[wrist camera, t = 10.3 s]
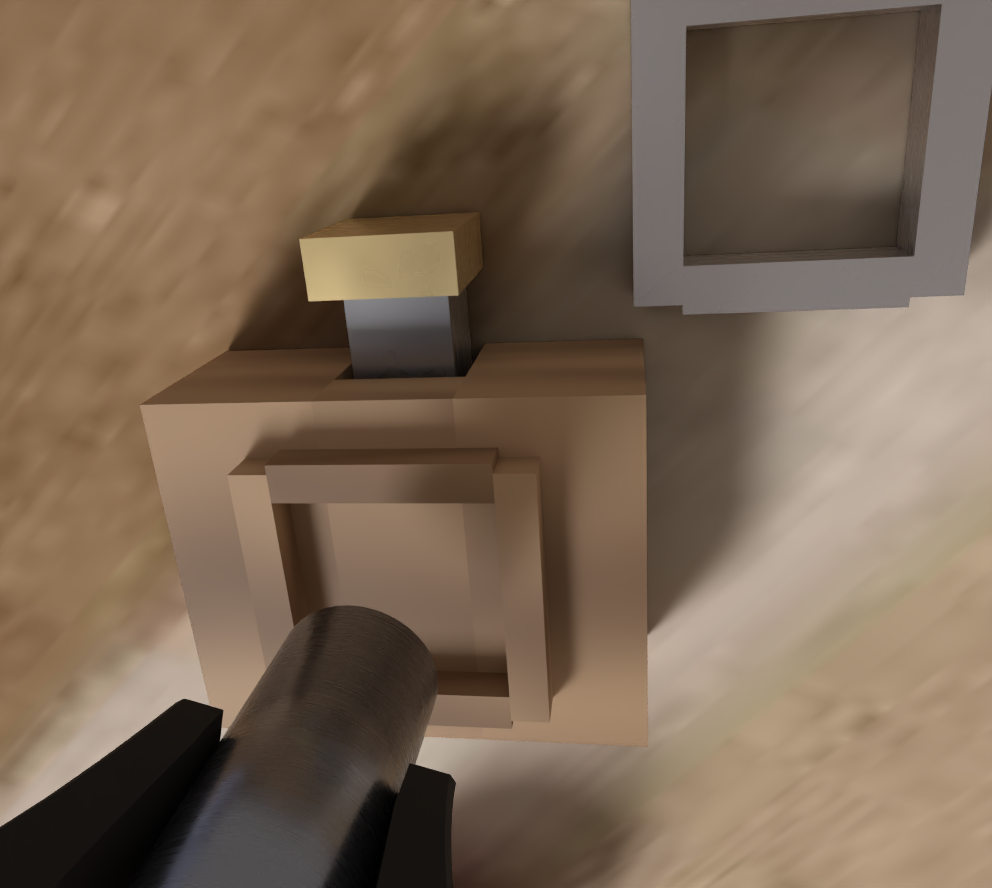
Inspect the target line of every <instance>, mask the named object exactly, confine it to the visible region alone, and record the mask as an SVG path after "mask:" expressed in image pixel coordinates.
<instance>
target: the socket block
mask: <svg viewBox="0 0 992 888" xmlns="http://www.w3.org/2000/svg"><path fill="white" fill-rule="evenodd" d="M140 408H141V412H142V416H143V421H144V425H145V429H146V433H147V438H148V442H149V446H150V451H151V455H152V459H153V463H154V468H155V472H156V476H157V481H158V485H159V489H160V493H161V498H162V502H163V506H164V511H165V515H166V519H167V523H168V528H169V532H170V536H171V540H172V545H173V549H174V553H175V558H176V562H177V566H178V570H179V575H180V579H181V583H182V588H183V592H184V596H185V600H186V605H187V609H188V613H189V618H190V622H191V626H192V630H193V635H194V639H195V643H196V647H197V652H198V656H199V660H200V665H201V669H202V673H203V677H204V682H205V686H206V690H207V695H208V699H209V703H210V706H212V707H216V708H219V709H223V710H224V711H223V719H222V727H224V728H229V727H230V725H231V724H232V722H233V721H234V719H235V718H236V716H237V714H238V713H239V711H240V710H241V708H242V707H243V705H244V703H245V702H246V700H247V699H248V697H249V696H250V694H251V692H252V691H253V689H254V688H255V686H256V685H257V683H258V682H259V680H260V678H261V677H262V675H263V674H264V672H265V671H266V669H267V667H268V666H269V664H270V663H271V661H272V660H273V658H274V657H275V655H276V653H277V652H278V650H279V649H280V647H281V646H282V644H283V642H284V641H285V639H286V638H287V636H288V635H289V633H290V632H291V630H292V629H293V628H294V627H295V625H296V624H298V623H299V622H300V621H301V620H302V619H303V618H305V617H306V616H308V615H309V614H311V613H314V612H316V611H318V610H321V609H324V608H327V607H333V606H344V605H351V606H361V607H366V608H371V609H374V610H377V611H380V612H383V613H385V614H387V615H390V616H391V617H393V618H395V619H397V620H399V621H400V622H402V623H403V624H404V625H406V626H407V627H408V628H410V629H411V630H412V631H413V632H414V633H415V634H416V635H417V636H418V637H419V638H420V639H421V641H422V642H423V643H424V644H425V646H426V647H427V649H428V650H429V652H430V654H431V656H432V658H433V660H434V663H435V666H436V669H437V675H438V694H437V698H436V701H435V704H434V708H433V711H432V714H431V717H430V720H429V723H428V726H427V729H426V732H425V735H424V737H446V738H468V739H490V740H513V741H535V742H557V743H579V744H602V745H624V746H646V747H648V695H647V434H646V382H645V366H644V350H643V339H616V340H582V341H548V342H515V343H485V345H484V346H483V348H482V350H481V351H480V353H479V355H478V356H477V358H476V360H475V362H474V363H473V365H472V367H471V368H470V370H469V372H468V373H467V375H466V377H432V378H390V379H354V374H353V367H352V359H351V352H350V347H347V348H313V349H280V350H246V351H226V352H224V353H223V354H221V355H219V356H218V357H216V358H215V359H213V360H211V361H210V362H208V363H206V364H205V365H203V366H202V367H200V368H198V369H197V370H195V371H194V372H192V373H190V374H189V375H187V376H186V377H184V378H182V379H181V380H179V381H177V382H176V383H174V384H173V385H171V386H169V387H168V388H166V389H165V390H163V391H161V392H160V393H158V394H157V395H155V396H153V397H152V398H150V399H148V400H147V401H145V402H144V403H142V404H140Z"/></svg>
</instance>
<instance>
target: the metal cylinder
mask: <svg viewBox="0 0 992 888" xmlns="http://www.w3.org/2000/svg"><path fill="white" fill-rule="evenodd" d="M437 694H438V675H437V669H436V666H435V663H434V660H433V658H432V656H431V654H430V652H429V650H428V649H427V647H426V646H425V644H424V643H423V642H422V641H421V639H420V638H419V637H418V636H417V635H416V634H415V633H414V632H413V631H412V630H411V629H410V628H408V627H407V626H406V625H404V624H403V623H402V622H400V621H399V620H397V619H395V618H393V617H391V616H390V615H387V614H385V613H383V612H380V611H377V610H374V609H371V608H366V607H361V606H351V605H344V606H333V607H327V608H324V609H321V610H318V611H316V612H314V613H311V614H309V615H308V616H306V617H305V618H303V619H302V620H301V621H300V622H299V623H298V624H296V625H295V627H294V628H293V629H292V630H291V632H290V633H289V635H288V636H287V638H286V639H285V641H284V642H283V644H282V646H281V647H280V649H279V650H278V652H277V653H276V655H275V657H274V658H273V660H272V661H271V663H270V664H269V666H268V667H267V669H266V671H265V672H264V674H263V675H262V677H261V678H260V680H259V682H258V683H257V685H256V686H255V688H254V689H253V691H252V692H251V694H250V696H249V697H248V699H247V700H246V702H245V703H244V705H243V707H242V708H241V710H240V711H239V713H238V714H237V716H236V718H235V719H234V721H233V722H232V724H231V725H230V727H229V728H228V730H227V732H226V733H225V735H224V736H223V738H222V739H221V741H220V743H219V744H218V746H217V747H216V749H215V750H214V752H213V753H212V755H211V757H210V758H209V760H208V761H207V763H206V764H205V766H204V768H203V769H202V771H201V772H200V774H199V775H198V777H197V778H196V780H195V782H194V783H193V785H192V786H191V788H190V789H189V791H188V793H187V794H186V796H185V797H184V799H183V800H182V802H181V804H180V805H179V807H178V808H177V810H176V811H175V813H174V814H173V816H172V818H171V819H170V821H169V822H168V824H167V825H166V827H165V829H164V830H163V832H162V833H161V835H160V836H159V838H158V839H157V841H156V843H155V844H154V846H153V847H152V849H151V850H150V852H149V854H148V855H147V857H146V858H145V860H144V861H143V863H142V864H141V866H140V868H139V869H138V871H137V872H136V874H135V875H134V877H133V879H132V880H131V882H130V883H129V885H128V886H127V888H375V887H376V883H377V878H378V874H379V870H380V865H381V861H382V856H383V852H384V847H385V843H386V839H387V835H388V831H389V826H390V822H391V818H392V814H393V809H394V805H395V802H396V799H397V796H398V793H399V791H400V788H401V785H402V782H403V780H404V777H405V774H406V772H407V769H408V766H409V764H410V763H411V764H415V763H416V760H417V757H418V754H419V751H420V748H421V745H422V742H423V739H424V735H425V732H426V729H427V726H428V723H429V720H430V717H431V714H432V711H433V708H434V704H435V701H436V698H437Z"/></svg>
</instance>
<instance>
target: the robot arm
mask: <svg viewBox="0 0 992 888" xmlns="http://www.w3.org/2000/svg"><path fill="white" fill-rule="evenodd" d="M223 711H224V710H223V709H219V708H216V707H212V706H209V705H205V704H202V703H198V702H195V701H191V700H188V699H182V700H180V701H178V702H176V703H175V704H174V705H172V706H171V707H170V708H169V709H167V710H166V711H165V712H163V713H162V714H161V715H160V716H158V717H157V718H156V719H154V720H153V721H152V722H150V723H149V724H148V725H147V726H145V727H144V728H143V729H141V730H140V731H139V732H137V733H136V734H135V735H133V736H132V737H131V738H129V739H128V740H127V741H125V742H124V743H123V744H121V745H120V746H119V747H117V748H116V749H115V750H113V751H112V752H110V753H109V754H108V755H106V756H105V757H104V758H102V759H101V760H100V761H98V762H97V763H95V764H94V765H92V766H91V767H90V768H88V769H87V770H85V771H84V772H82V773H81V774H80V775H78V776H77V777H75V778H74V779H72V780H71V781H70V782H68V783H67V784H65V785H64V786H62V787H61V788H60V789H58V790H57V791H55V792H54V793H52V794H51V795H49V796H48V797H46V798H45V799H43V800H42V801H40V802H39V803H37V804H36V805H34V806H32V807H31V808H29V809H28V810H26V811H25V812H23V813H21V814H20V815H18V816H17V817H15V818H14V819H12V820H10V821H9V822H7V823H6V824H4V825H3V826H1V827H0V888H127V886H128V885H129V883H130V882H131V880H132V879H133V877H134V875H135V874H136V872H137V871H138V869H139V868H140V866H141V864H142V863H143V861H144V860H145V858H146V857H147V855H148V854H149V852H150V850H151V849H152V847H153V846H154V844H155V843H156V841H157V839H158V838H159V836H160V835H161V833H162V832H163V830H164V829H165V827H166V825H167V824H168V822H169V821H170V819H171V818H172V816H173V814H174V813H175V811H176V810H177V808H178V807H179V805H180V804H181V802H182V800H183V799H184V797H185V796H186V794H187V793H188V791H189V789H190V788H191V786H192V785H193V783H194V782H195V780H196V778H197V777H198V775H199V774H200V772H201V771H202V769H203V768H204V766H205V764H206V763H207V761H208V760H209V758H210V757H211V755H212V753H213V752H214V750H215V749H216V747H217V746H218V744H219V743H220V736H221V727H222V719H223ZM455 786H456V782H455V781H454V779H453V778H452V776H451V775H450V774H446V773H443V772H439V771H436V770H432V769H429V768H425V767H422V766H418V765H415V764H411V763H410V764H409V766H408V769H407V772H406V774H405V777H404V780H403V782H402V785H401V788H400V791H399V793H398V796H397V799H396V802H395V805H394V809H393V814H392V818H391V822H390V826H389V831H388V835H387V839H386V843H385V847H384V852H383V856H382V861H381V865H380V870H379V874H378V878H377V883H376V887H375V888H453V881H452V860H451V823H452V807H453V797H454V791H455Z"/></svg>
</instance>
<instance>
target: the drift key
mask: <svg viewBox="0 0 992 888" xmlns="http://www.w3.org/2000/svg"><path fill="white" fill-rule="evenodd" d="M299 241H300V248H301V254H302V261H303V268H304V274H305V281H306V288H307V294H308V301H330V300H344V308H345V315H346V322H347V330H348V337H349V345H350V352H351V359H352V367H353V374H354V379H390V378H432V377H466V375H467V373H468V372H469V370H470V368H471V367H472V365H473V364H472V352H471V339H470V327H469V315H468V302H467V290H466V286H467V285H468V284H469V283H470V282H471V281H472V280H473V278H474V277H475V276H476V275H477V274H478V273H479V272H480V270H481V269H482V268H483V258H482V244H481V231H480V217H479V212H470V213H451V214H433V215H415V216H397V217H378V218H360V219H346V220H344V221H341V222H339V223H337V224H334V225H332V226H329V227H327V228H325V229H322V230H320V231H317V232H315V233H313V234H310V235H308V236H306V237H303V238H301V239H299Z"/></svg>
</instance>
